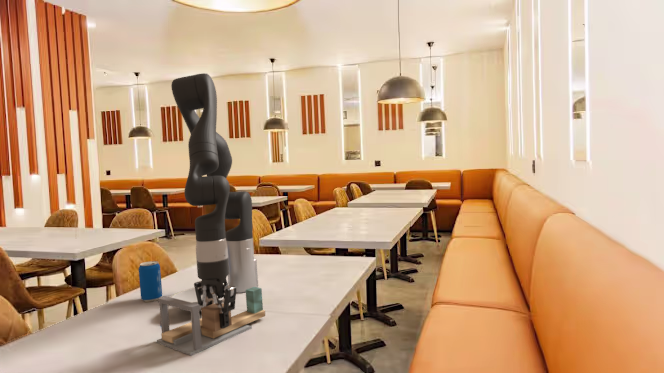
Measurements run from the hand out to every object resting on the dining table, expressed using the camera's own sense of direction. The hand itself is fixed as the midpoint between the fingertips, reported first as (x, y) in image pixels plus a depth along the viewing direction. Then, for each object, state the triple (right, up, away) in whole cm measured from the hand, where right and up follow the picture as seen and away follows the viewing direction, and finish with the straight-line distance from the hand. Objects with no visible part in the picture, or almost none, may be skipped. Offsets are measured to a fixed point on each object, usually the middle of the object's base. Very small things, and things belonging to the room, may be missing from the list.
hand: (217, 324), depth 107 cm
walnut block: (0, 0, 0) cm, 0 cm away
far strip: (-8, -3, -1) cm, 9 cm away
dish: (-11, -2, +21) cm, 24 cm away
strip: (+3, -2, +4) cm, 6 cm away
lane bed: (-3, -3, +1) cm, 4 cm away
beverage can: (-31, -3, +34) cm, 46 cm away
